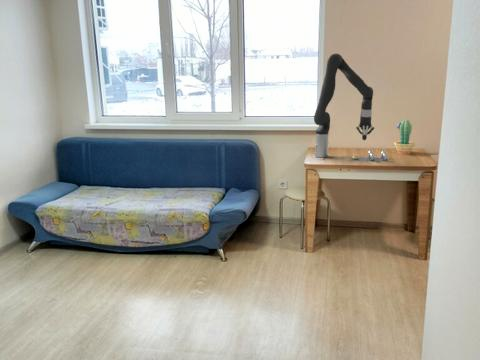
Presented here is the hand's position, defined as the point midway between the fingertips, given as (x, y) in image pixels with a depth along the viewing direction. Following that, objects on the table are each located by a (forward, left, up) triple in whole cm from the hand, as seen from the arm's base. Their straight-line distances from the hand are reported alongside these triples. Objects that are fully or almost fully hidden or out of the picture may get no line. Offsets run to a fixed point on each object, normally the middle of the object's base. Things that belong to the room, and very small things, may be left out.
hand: (364, 140), depth 316 cm
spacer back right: (+15, +4, -14) cm, 21 cm away
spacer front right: (+15, -5, -14) cm, 21 cm away
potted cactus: (+33, +24, -15) cm, 43 cm away
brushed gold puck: (-6, -1, -14) cm, 15 cm away
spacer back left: (+6, +4, -14) cm, 15 cm away
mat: (+3, 0, -14) cm, 15 cm away
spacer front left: (+6, -5, -14) cm, 16 cm away
